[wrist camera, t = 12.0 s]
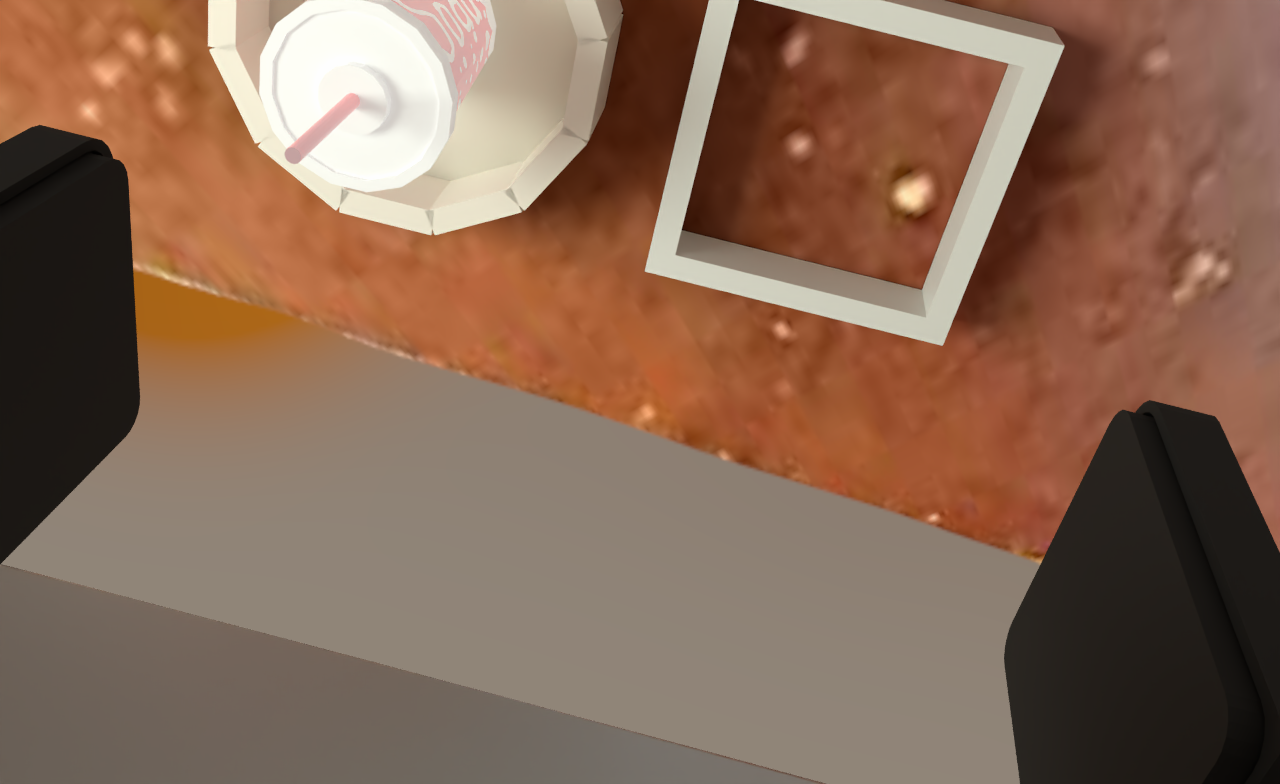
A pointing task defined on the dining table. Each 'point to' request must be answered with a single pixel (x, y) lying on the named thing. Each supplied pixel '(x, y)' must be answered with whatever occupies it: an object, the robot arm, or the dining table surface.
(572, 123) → the bowl
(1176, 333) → the dining table surface
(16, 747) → the robot arm
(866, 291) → the open square frame
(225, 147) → the dining table surface
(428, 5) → the beverage cup
